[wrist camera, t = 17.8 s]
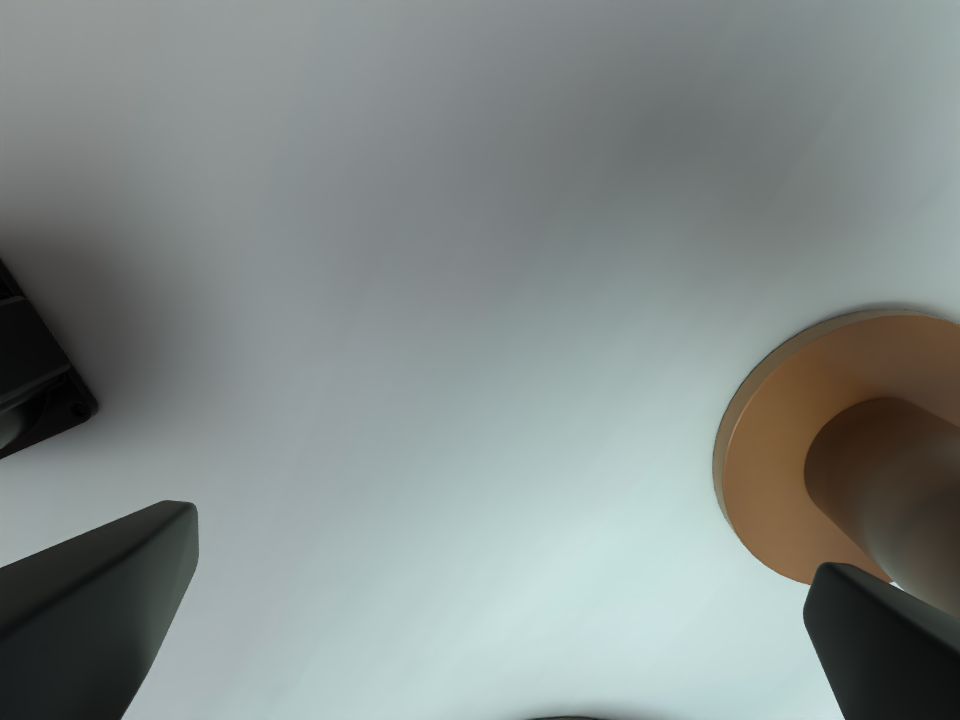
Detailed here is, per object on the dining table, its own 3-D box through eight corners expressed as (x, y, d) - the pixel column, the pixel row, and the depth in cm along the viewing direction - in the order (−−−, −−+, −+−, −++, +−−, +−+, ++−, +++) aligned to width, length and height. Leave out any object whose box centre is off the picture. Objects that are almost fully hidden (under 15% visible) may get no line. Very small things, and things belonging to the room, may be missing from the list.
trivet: (755, 609, 25) (767, 627, 24) (674, 380, 22) (683, 390, 21) (1024, 514, 24) (1048, 529, 23) (979, 258, 21) (1004, 262, 20)
